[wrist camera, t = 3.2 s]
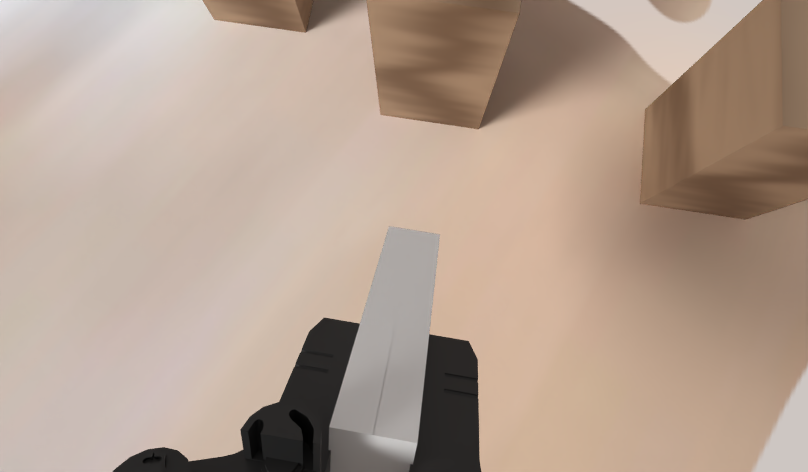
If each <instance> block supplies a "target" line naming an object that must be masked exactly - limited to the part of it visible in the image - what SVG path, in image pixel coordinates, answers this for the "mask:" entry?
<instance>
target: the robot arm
mask: <svg viewBox="0 0 808 472" xmlns="http://www.w3.org/2000/svg"><path fill="white" fill-rule="evenodd" d="M439 238H440V234H434V233H428V232H422V231H416V230H410V229H404V228H397V227H391V226H389V228H388V232H387V235H386V238H385V242H384V245H383V248H382V252H381V255H380V258H379V262H378V265H377V269H376V272H375V275H374V279H373V282H372V285H371V289H370V292H369V295H368V299H367V302H366V305H365V309H364V312H363V315H362V319H361V322H360V324H358V323H352V322H347V321H341V320H335V319H329V318H323V319H322V320H321V321H320V322H319V323H318V324H317V325H316V326H315V327H314V328H313V329H311V330H310V331H309V334H308V336H307V338H306V341H305V343H304V345H303V348H302V351H301V353H300V355H299V357H298V359H297V362H296V365H295V367H294V369H293V371H292V373H291V376H290V378H289V380H288V383H287V385H286V387H285V390H284V392H283V394H282V397H281V399H280V401H279V402H278V403H275V404H272V405H268V406H265V407H263V408H261V409H260V410H259V411H257V412H256V413H254V414H253V415H252V416H250V417H249V419H248V420H247V422H246V423H245V424H244V426H243V427H242V428H241V436H242V442H243V449H244V450H242V451H240V452H238V453H235V454H232V455H228V456H224V457H217V458H210V459H203V460H196V461H189V462H188V459H187V458H186V457H185V456H184V455H182V454H181V453H180V452H179V451H177V450H173V449H169V448H165V447H163V448H155V449H148V450H145V451H143V452H141V453H139V454H136V455H134V456H132V457H130V458H129V459H127V460H126V461H125V462H124V463H122V464H121V465H120V466H119V467H117V468H116V469H115V470H114V471H113V472H481V468H480V461H479V413H478V382H477V381H478V359H477V357H476V355H475V353H474V351H473V349H472V347H471V345H470V343H469V341H464V340H459V339H453V338H447V337H441V336H435V335H429V331H430V322H431V313H432V304H433V294H434V285H435V276H436V266H437V257H438V248H439Z"/></svg>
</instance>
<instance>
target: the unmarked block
mask: <svg viewBox="0 0 808 472" xmlns="http://www.w3.org/2000/svg"><path fill="white" fill-rule="evenodd" d="M520 7H521V0H367V8H368V16H369V24H370V33H371V41H372V49H373V57H374V65H375V73H376V81H377V89H378V97H379V105H380V113H381V115H386V116H393V117H399V118H406V119H413V120H420V121H427V122H433V123H440V124H447V125H454V126H461V127H467V128H474V129H479V127H480V124H481V121H482V118H483V115H484V112H485V110H486V107H487V104H488V101H489V98H490V96H491V93H492V90H493V87H494V84H495V81H496V79H497V76H498V73H499V70H500V67H501V64H502V62H503V59H504V56H505V53H506V50H507V47H508V45H509V42H510V39H511V36H512V33H513V31H514V28H515V25H516V22H517V19H518V16H519V14H520Z"/></svg>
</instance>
